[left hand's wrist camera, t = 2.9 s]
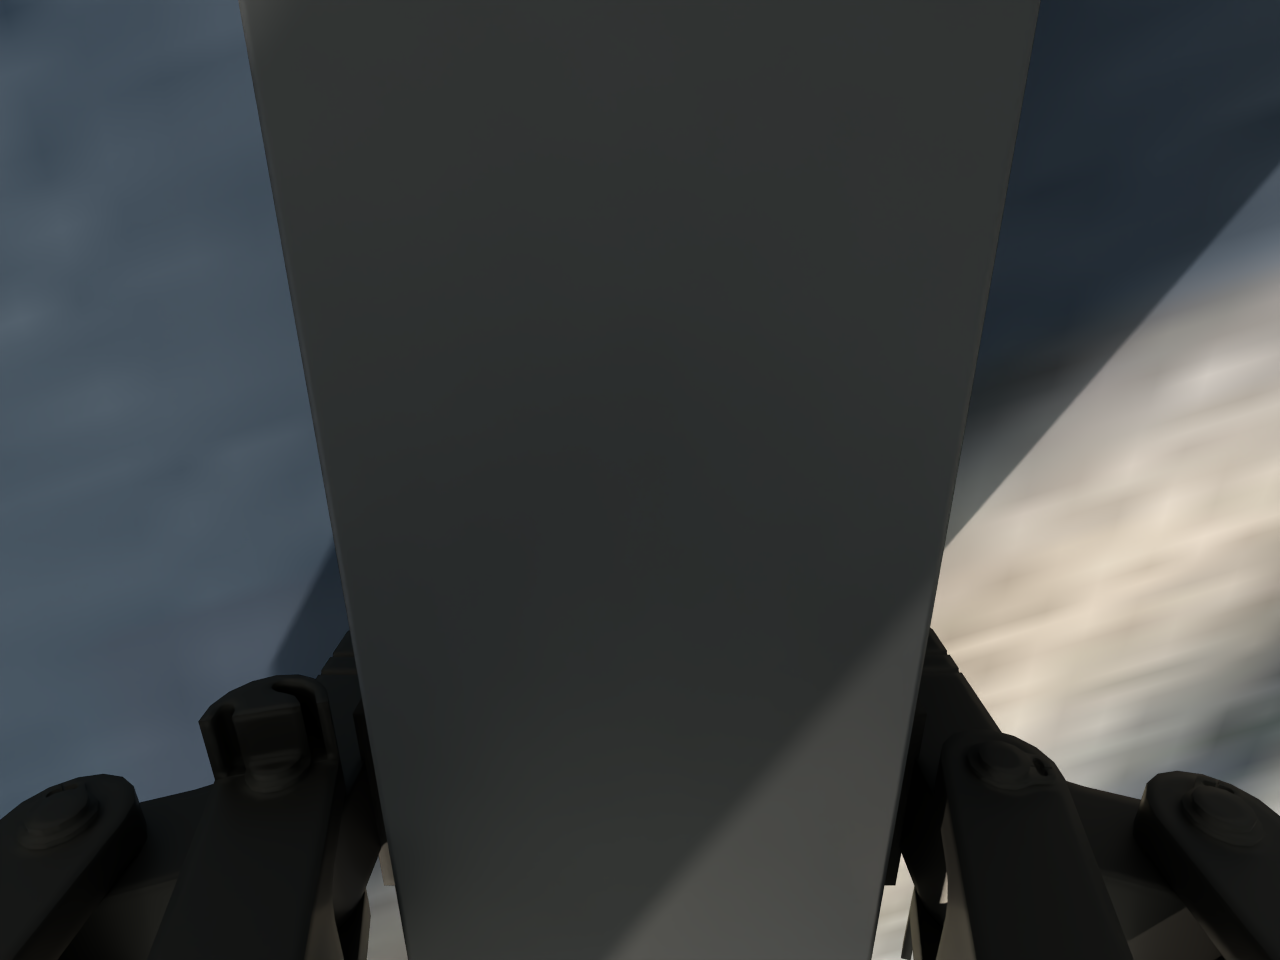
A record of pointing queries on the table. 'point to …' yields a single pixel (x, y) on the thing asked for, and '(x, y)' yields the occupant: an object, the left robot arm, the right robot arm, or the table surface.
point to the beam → (639, 437)
